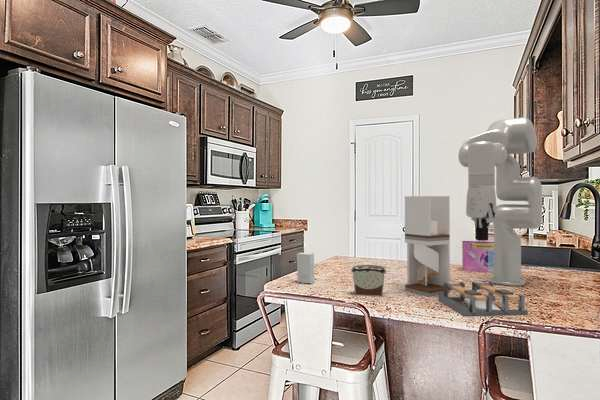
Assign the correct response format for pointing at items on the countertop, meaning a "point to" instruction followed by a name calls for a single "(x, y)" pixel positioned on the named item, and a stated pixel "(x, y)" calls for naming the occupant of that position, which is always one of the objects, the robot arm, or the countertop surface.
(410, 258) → the white dispenser tower
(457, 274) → the countertop surface
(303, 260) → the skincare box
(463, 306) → the grey dish rack
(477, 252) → the gum box
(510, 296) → the strap
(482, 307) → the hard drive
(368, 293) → the food container
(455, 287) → the strap
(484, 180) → the robot arm
